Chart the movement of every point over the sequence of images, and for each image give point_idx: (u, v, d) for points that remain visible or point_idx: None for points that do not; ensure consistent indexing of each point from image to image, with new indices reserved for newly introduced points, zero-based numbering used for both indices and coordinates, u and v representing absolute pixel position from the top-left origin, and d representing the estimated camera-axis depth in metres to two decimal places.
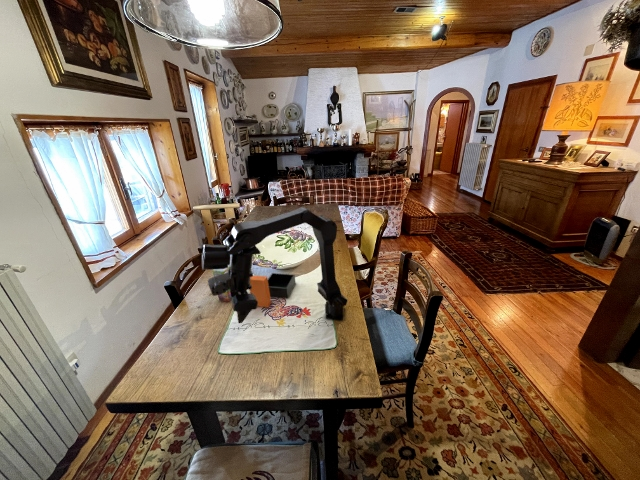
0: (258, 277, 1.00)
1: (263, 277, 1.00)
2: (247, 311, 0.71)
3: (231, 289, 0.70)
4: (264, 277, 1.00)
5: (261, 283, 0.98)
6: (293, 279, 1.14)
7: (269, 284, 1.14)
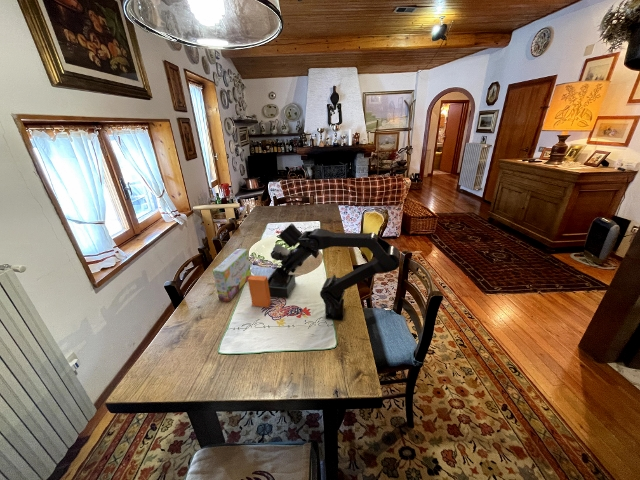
0: (258, 277, 1.00)
1: (263, 277, 1.00)
2: (278, 283, 0.91)
3: (282, 262, 0.90)
4: (264, 277, 1.00)
5: (261, 283, 0.98)
6: (293, 279, 1.14)
7: None
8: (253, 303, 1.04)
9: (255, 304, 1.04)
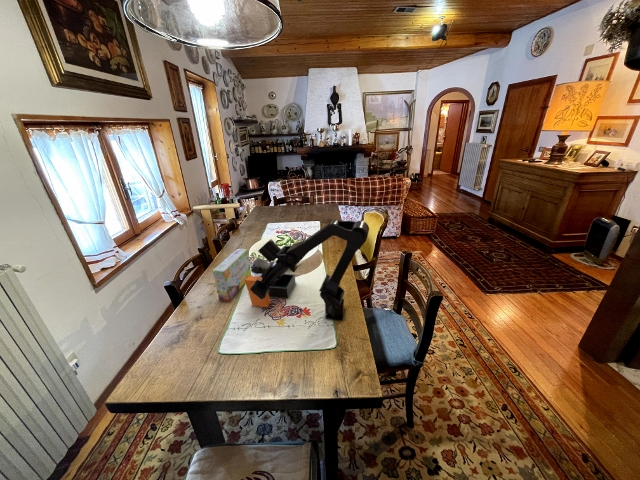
0: (255, 277, 0.99)
1: (260, 277, 0.99)
2: None
3: (261, 275, 0.95)
4: (261, 277, 0.99)
5: None
6: (293, 279, 1.14)
7: None
8: (253, 303, 1.04)
9: (255, 304, 1.04)
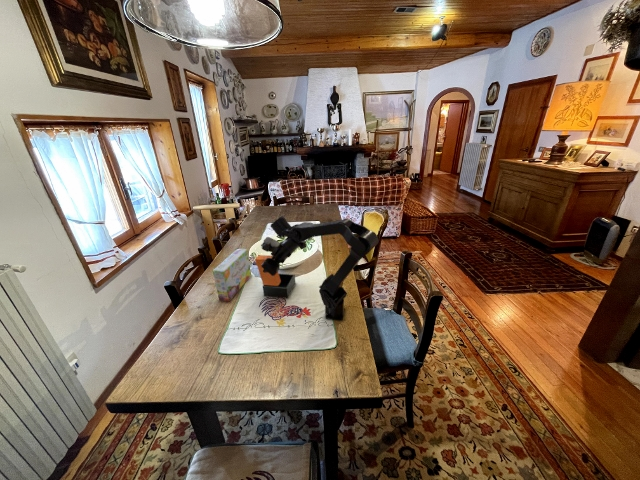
0: (265, 256, 1.01)
1: (270, 256, 1.01)
2: None
3: (272, 253, 0.97)
4: (271, 256, 1.00)
5: None
6: (293, 279, 1.14)
7: None
8: (263, 282, 1.06)
9: (265, 283, 1.06)
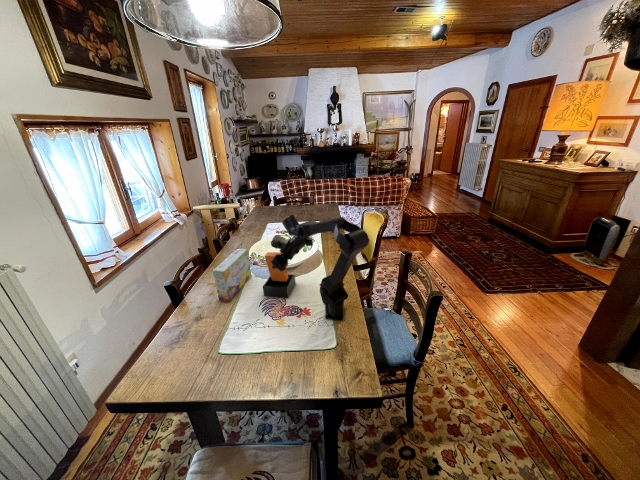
0: (274, 253, 1.06)
1: (278, 253, 1.06)
2: None
3: (281, 250, 1.02)
4: (279, 253, 1.06)
5: None
6: (293, 279, 1.14)
7: (269, 284, 1.14)
8: (272, 278, 1.11)
9: (274, 279, 1.11)
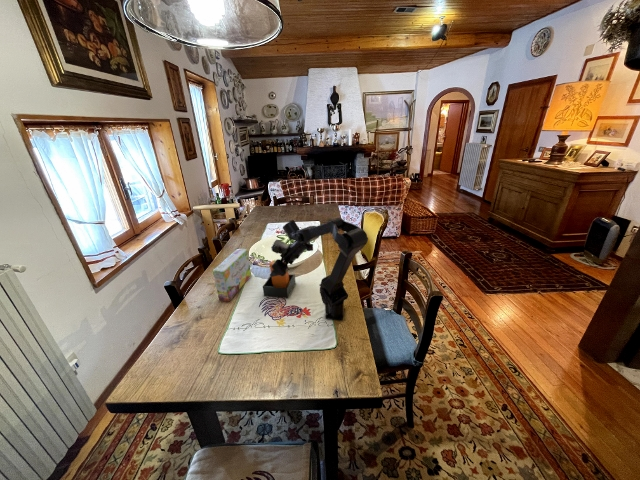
0: None
1: None
2: (278, 273, 1.03)
3: (281, 255, 1.02)
4: None
5: None
6: (293, 279, 1.14)
7: (269, 284, 1.14)
8: (274, 286, 1.13)
9: None
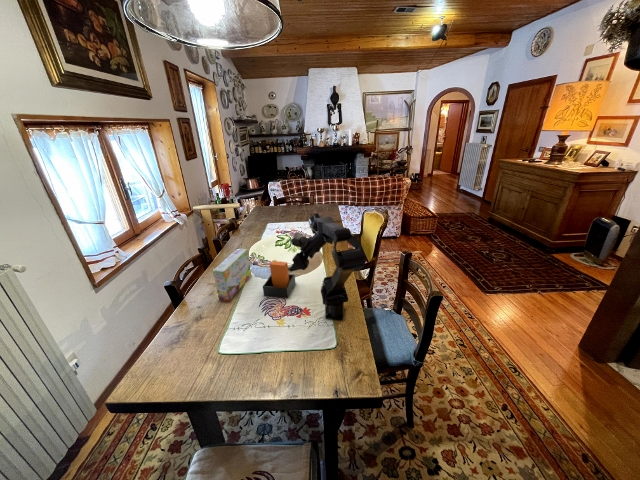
0: (279, 262, 1.09)
1: (284, 263, 1.08)
2: (298, 267, 0.99)
3: (301, 248, 0.99)
4: (284, 263, 1.08)
5: (282, 267, 1.07)
6: (293, 279, 1.14)
7: (269, 284, 1.14)
8: (274, 286, 1.13)
9: None
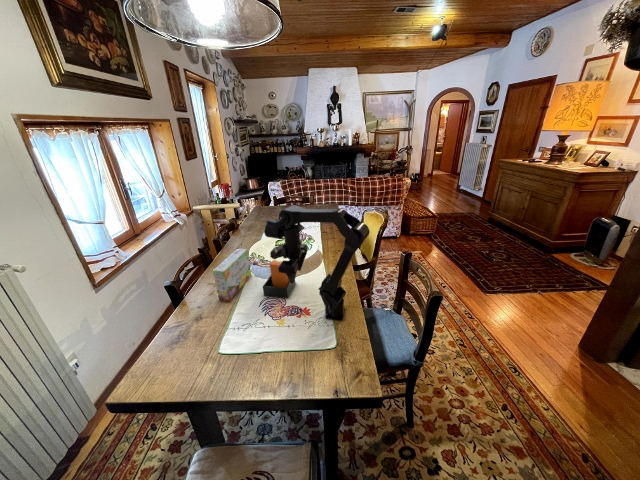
0: (279, 262, 1.09)
1: None
2: (293, 275, 0.91)
3: (283, 256, 0.93)
4: None
5: None
6: None
7: (269, 284, 1.14)
8: (274, 286, 1.13)
9: None
